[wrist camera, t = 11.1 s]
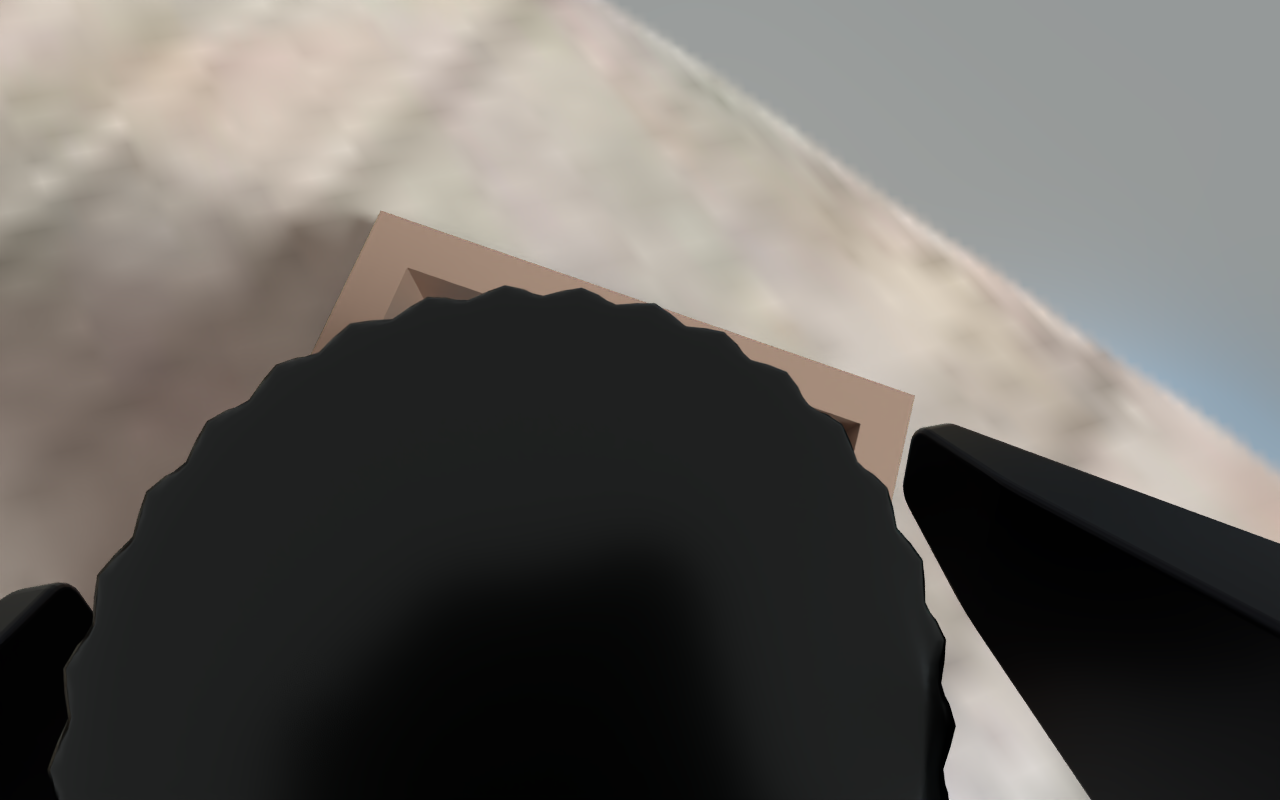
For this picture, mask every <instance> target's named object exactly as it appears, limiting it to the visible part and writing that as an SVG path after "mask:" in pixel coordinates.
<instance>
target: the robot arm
mask: <svg viewBox="0 0 1280 800" xmlns="http://www.w3.org/2000/svg"><path fill="white" fill-rule="evenodd" d="M903 492H904V497H905V500H906V502H907V505H908V507H909V509H910V511H911V512H912V514H913V516H914V518H915V520H916V522H917V524H918V526H919V527H920V529H921V531H922V533H923V535H924V537H925V539H926V541H927V542H928V544H929V546H930V548H931V550H932V552H933V554H934V556H935V557H936V559H937V561H938V563H939V565H940V567H941V569H942V571H943V572H944V574H945V576H946V578H947V580H948V582H949V584H950V586H951V587H952V589H953V591H954V593H955V595H956V597H957V598H958V600H959V602H960V604H961V605H962V607H963V609H964V611H965V612H966V614H967V615H968V617H969V619H970V620H971V622H972V623H973V625H974V626H975V628H976V630H977V631H978V633H979V634H980V636H981V637H982V639H983V640H984V642H985V643H986V645H987V646H988V647H989V649H990V650H991V652H992V653H993V655H994V656H995V658H996V659H997V661H998V662H999V664H1000V665H1001V667H1002V668H1003V670H1004V671H1005V673H1006V674H1007V676H1008V677H1009V679H1010V680H1011V682H1012V683H1013V685H1014V686H1015V688H1016V689H1017V691H1018V692H1019V694H1020V695H1021V696H1022V698H1023V699H1024V701H1025V702H1026V704H1027V705H1028V707H1029V708H1030V710H1031V711H1032V713H1033V714H1034V716H1035V717H1036V719H1037V720H1038V722H1039V723H1040V725H1041V726H1042V728H1043V729H1044V731H1045V732H1046V734H1047V735H1048V737H1049V738H1050V740H1051V741H1052V743H1053V744H1054V746H1055V747H1056V748H1057V750H1058V751H1059V753H1060V754H1061V756H1062V757H1063V759H1064V760H1065V762H1066V763H1067V765H1068V766H1069V768H1070V769H1071V771H1072V772H1073V774H1074V775H1075V777H1076V778H1077V780H1078V781H1079V783H1080V784H1081V786H1082V787H1083V789H1084V790H1085V792H1086V793H1087V795H1088V796H1089V797H1090V799H1091V800H1280V544H1279V543H1277V542H1274V541H1271V540H1268V539H1266V538H1263V537H1260V536H1257V535H1255V534H1252V533H1249V532H1247V531H1244V530H1241V529H1238V528H1236V527H1233V526H1230V525H1227V524H1225V523H1222V522H1219V521H1217V520H1214V519H1211V518H1208V517H1206V516H1203V515H1200V514H1197V513H1195V512H1192V511H1189V510H1187V509H1184V508H1181V507H1178V506H1176V505H1173V504H1170V503H1167V502H1165V501H1162V500H1159V499H1157V498H1154V497H1151V496H1148V495H1146V494H1143V493H1140V492H1138V491H1135V490H1132V489H1129V488H1127V487H1124V486H1121V485H1118V484H1116V483H1113V482H1110V481H1108V480H1105V479H1102V478H1099V477H1097V476H1094V475H1091V474H1088V473H1086V472H1083V471H1080V470H1078V469H1075V468H1072V467H1069V466H1067V465H1064V464H1061V463H1059V462H1056V461H1053V460H1050V459H1048V458H1045V457H1042V456H1039V455H1037V454H1034V453H1031V452H1029V451H1026V450H1023V449H1020V448H1018V447H1015V446H1012V445H1009V444H1007V443H1004V442H1001V441H999V440H996V439H993V438H990V437H988V436H985V435H982V434H980V433H977V432H974V431H971V430H969V429H966V428H963V427H960V426H958V425H955V424H940V425H935V426H929V427H923V428H920V429H919V430H917V431H916V432H915V433H914V435H913V436H912V439H911V444H910V449H909V454H908V460H907V465H906V470H905V476H904V481H903ZM92 623H93V611H92V610H91V608H90V607H89V605H88V604H87V603H86V601H85V600H84V598H83V597H82V595H81V594H80V593H79V591H78V590H77V589H76V588H75V587H73V586H71V585H70V584H67V583H52V584H47V585H41V586H35V587H30V588H24V589H20V590H17V591H15V592H12V593H10V594H9V595H7V596H6V597H4V598H3V599H1V600H0V800H56V799H55V797H54V794H53V790H52V786H51V783H50V779H49V775H48V771H47V770H48V767H49V764H50V761H51V758H52V756H53V753H54V750H55V747H56V745H57V742H58V740H59V738H60V736H61V733H62V731H63V729H64V727H65V725H66V722H67V720H68V712H67V706H66V699H65V691H64V670H63V669H64V667H65V665H66V664H67V662H68V660H69V659H70V657H71V655H72V653H73V652H74V650H75V648H76V647H77V645H78V644H79V643H80V642H81V641H82V640H83V639H84V637H85V635H86V633H87V632H88V630H89V628H90V627H91V625H92Z"/></svg>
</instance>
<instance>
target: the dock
mask: <svg viewBox="0 0 1280 800" xmlns="http://www.w3.org/2000/svg"><path fill="white" fill-rule="evenodd" d="M504 285H507V286H512V287H516V288H521V289H525V290H527V291H529V292H531V293H534V294H538V295H543V296H544V295H548V294H551V293H555V292H559V291H563V290H570V289H576V288H584V289H586V290H589V291H591V292H594V293H596V294H598V295H600V296H601V297H603V298H604V299H606V300H607V301H609V302H612V303H614V304H616V305H617V304H630V303H646V302H643V301H640V300H637V299H634V298H631V297H628V296H626V295H623V294H620V293H617V292H614V291H611V290H608V289H605V288H602V287H600V286H597V285H594V284H591V283H588V282H585V281H582V280H579V279H577V278H574V277H571V276H568V275H565V274H562V273H559V272H556V271H553V270H551V269H548V268H545V267H542V266H539V265H536V264H533V263H530V262H527V261H525V260H522V259H519V258H516V257H513V256H510V255H507V254H504V253H502V252H499V251H496V250H493V249H490V248H487V247H484V246H481V245H478V244H476V243H473V242H470V241H467V240H464V239H461V238H458V237H455V236H453V235H450V234H447V233H444V232H441V231H438V230H435V229H432V228H429V227H427V226H424V225H421V224H418V223H415V222H412V221H409V220H406V219H403V218H401V217H398V216H395V215H392V214H389V213H386V212H383V211H380V213H379V215H378V217H377V219H376V221H375V223H374V225H373V228H372V230H371V232H370V234H369V236H368V238H367V240H366V242H365V244H364V246H363V248H362V250H361V252H360V254H359V256H358V258H357V261H356V263H355V265H354V267H353V269H352V271H351V273H350V275H349V277H348V279H347V281H346V283H345V285H344V287H343V289H342V291H341V294H340V296H339V298H338V300H337V302H336V304H335V306H334V308H333V310H332V312H331V314H330V316H329V318H328V320H327V322H326V324H325V327H324V329H323V331H322V333H321V335H320V337H319V339H318V341H317V343H316V345H315V347H314V349H313V351H312V353H311V355H312V354H315V353H318V352H319V351H320V350H321V349H322V348H323V347H324V346H325V345H326V344H327V343H328V342H329V341H330V340H331V339H332V338H333V337H334V336H336V335H337V334H338V333H339V332H340V331H342V330H343V329H344V328H345V327H346V326H348V325H349V324H350V323H355V322H362V321H369V320H383V319H393V318H394V317H396V316H397V315H399V314H400V313H402V312H403V311H405V310H406V309H407V308H409V307H410V306H412V305H414V304H416V303H417V302H419V301H421V300H423V299H424V298H426V297H447V298H451V299H455V300H469V299H472V298H474V297H476V296H478V295H480V294H483V293H485V292H487V291H490V290H493V289H496V288H498V287H501V286H504ZM664 310H666V309H664ZM666 311H667V312H669V313H670V314H672V315H673V316H674V317H675V318H677V319H678V320H679V321H680V322H681V323H683V324H684V325H685V326H689V327H699V328H708V329H712V330H717V331H723V332H725V333H726V334H727V335H728V336H729V337H730V338H731V339H732V340H733V341H734V342H735V343H737V344H738V346H739V347H740V349H741V350H742V352H743V353H744V354H745V355H746V356H747V357H748V358H749V359H751V360H754V361H757V362H761V363H764V364H768V365H771V366H773V367H776V368H778V369H781V370H783V371H786V372H787V373H788V374H789V375H790V377H791V378H792V379H793V381H794V382H795V383H796V385H797V386H798V387H799V390H800V392H801V394H802V396H803V398H804V399H805V400H806V402H807V403H808V404H809V405H810V406H811V407H813V408H814V409H816V410H818V411H820V412H823V413H826V414H828V415H829V416H831V417H832V418H834V419H835V420H837V421H838V422H840V423H841V424H842V425H843V427H844V429H845V431H846V433H847V435H848V437H849V439H850V442H851V444H852V447H853V450H854V453H855V456H856V458H857V461H858V462H859V463H860V464H861V465H862V466H863V467H864V468H865V469H866V470H868V471H870V472H871V473H873V474H874V475H875V476H876V477H877V478H878V479H879V480H880V481H881V482H882V483H883V484H884V485H885V486H886V487H887V488H888V491H889V495H890V498H891V502H892V497H893V493H894V488H895V484H896V479H897V475H898V470H899V465H900V461H901V456H902V452H903V447H904V443H905V438H906V434H907V429H908V424H909V420H910V415H911V411H912V406H913V402H914V397H915V396H914V395H911V394H908V393H905V392H902V391H900V390H897V389H894V388H891V387H888V386H885V385H882V384H879V383H876V382H874V381H871V380H868V379H865V378H862V377H859V376H856V375H853V374H851V373H848V372H845V371H842V370H839V369H836V368H833V367H830V366H827V365H825V364H822V363H819V362H816V361H813V360H810V359H807V358H804V357H801V356H799V355H796V354H793V353H790V352H787V351H784V350H781V349H778V348H776V347H773V346H770V345H767V344H764V343H761V342H758V341H755V340H752V339H750V338H747V337H744V336H741V335H738V334H735V333H732V332H729V331H726V330H724V329H721V328H718V327H715V326H712V325H709V324H706V323H703V322H701V321H698V320H695V319H692V318H689V317H686V316H683V315H680V314H677V313H675V312H672V311H669V310H666Z"/></svg>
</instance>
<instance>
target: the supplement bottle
mask: <svg viewBox="0 0 1280 800" xmlns="http://www.w3.org/2000/svg"><path fill="white" fill-rule="evenodd" d="M945 646H946V639H945V637H944V635H943V633H942V631H941V629H940V627H939V625H938V622H937V621H936V619H935V618H934V617H933V615H932V614H931V613H930V611H929V609H928V607H927V605H926V603H925V578H924V569H923V560H922V558H921V557H920V556H919V554H918V553H917V551H916V550H915V549H914V547H913V546H912V545H911V543H910V542H909V541H908V540H907V539H906V538H905V537H904V535H903V534H902V533H901V532H900V531H899V530H898V529H897V527H896V521H895V516H894V510H893V505H892V502H891V498H890V495H889V491H888V488H887V487H886V486H885V485H884V484H883V483H882V482H881V481H880V480H879V479H878V478H877V477H876V476H875V475H874V474H873V473H871V472H870V471H868V470H866V469H865V468H864V467H863V466H862V465H861V464H860V463H859V462H858V461H857V458H856V456H855V453H854V450H853V447H852V444H851V442H850V439H849V437H848V435H847V433H846V431H845V429H844V427H843V425H842V424H841V423H840V422H838V421H837V420H835V419H834V418H832V417H831V416H829V415H828V414H826V413H823V412H820V411H818V410H816V409H814V408H813V407H811V406H810V405H809V404H808V403H807V402H806V400H805V399H804V398H803V396H802V394H801V392H800V390H799V387H798V386H797V385H796V383H795V382H794V381H793V379H792V378H791V377H790V375H789V374H788V373H787V372H786V371H783V370H781V369H778V368H776V367H773V366H771V365H768V364H764V363H761V362H757V361H754V360H751V359H749V358H748V357H747V356H746V355H745V354H744V353H743V352H742V350H741V349H740V347H739V346H738V344H737V343H735V342H734V341H733V340H732V339H731V338H730V337H729V336H728V335H727V334H726V333H725V332H723V331H717V330H712V329H708V328H699V327H689V326H685V325H684V324H683V323H681V322H680V321H679V320H678V319H677V318H675V317H674V316H673V315H672V314H670V313H669V312H667V311H666V310H664V309H663V308H661V307H660V306H658V305H657V304H655V303H630V304H617V305H616V304H614V303H612V302H609V301H607V300H606V299H604V298H603V297H601V296H600V295H598V294H596V293H594V292H591V291H589V290H586V289H584V288H576V289H570V290H563V291H559V292H555V293H551V294H548V295H544V296H543V295H538V294H534V293H531V292H529V291H527V290H525V289H521V288H516V287H512V286H507V285H504V286H501V287H498V288H496V289H493V290H490V291H487V292H485V293H483V294H480V295H478V296H476V297H474V298H472V299H469V300H455V299H451V298H447V297H426V298H424V299H423V300H421V301H419V302H417V303H416V304H414V305H412V306H410V307H409V308H407V309H406V310H405V311H403V312H402V313H400V314H399V315H397V316H396V317H394V318H393V319H383V320H369V321H362V322H355V323H350V324H349V325H348V326H346V327H345V328H344V329H343V330H342V331H340V332H339V333H338V334H337V335H336V336H334V337H333V338H332V339H331V340H330V341H329V342H328V343H327V344H326V345H325V346H324V347H323V348H322V349H321V350H320V351H319V352H318V353H315V354H312V355H309V356H306V357H299V358H295V359H292V360H289V361H286V362H283V363H280V364H277V365H275V367H274V368H273V369H272V370H271V371H270V372H269V374H268V375H267V376H266V377H265V378H264V380H263V381H262V382H261V384H260V385H259V386H258V388H257V389H256V391H255V392H254V394H253V395H252V396H251V398H250V399H249V400H248V401H247V402H245V403H243V404H241V405H239V406H237V407H235V408H232V409H229V410H226V411H224V412H223V413H221V414H219V415H217V416H215V417H214V418H212V419H210V420H208V421H207V422H206V424H205V426H204V427H203V429H202V431H201V433H200V434H199V436H198V438H197V440H196V442H195V444H194V446H193V448H192V450H191V452H190V454H189V456H188V459H187V461H186V462H185V463H184V464H183V465H182V466H180V467H179V468H178V469H177V470H175V471H174V472H172V473H171V474H169V475H167V476H165V477H164V478H162V479H161V480H160V481H159V482H157V483H156V484H155V485H154V486H153V487H151V488H150V489H149V490H148V491H146V494H145V497H144V500H143V503H142V506H141V508H140V511H139V515H138V518H137V522H136V526H135V530H134V534H133V537H132V538H131V539H130V540H129V541H128V542H127V543H126V544H125V545H124V546H123V547H122V548H121V549H120V550H119V551H118V552H117V553H116V554H115V555H114V556H113V557H112V558H111V560H110V561H109V562H108V563H107V564H106V565H105V567H104V568H103V569H102V570H101V571H100V572H99V574H98V575H97V581H96V588H95V595H94V607H93V623H92V625H91V627H90V628H89V630H88V632H87V633H86V635H85V637H84V639H83V640H82V641H81V642H80V643H79V644H78V645H77V647H76V648H75V650H74V652H73V653H72V655H71V657H70V659H69V660H68V662H67V664H66V665H65V667H64V669H63V670H64V691H65V699H66V706H67V712H68V720H67V722H66V725H65V727H64V729H63V731H62V733H61V736H60V738H59V740H58V742H57V745H56V747H55V750H54V753H53V756H52V758H51V761H50V764H49V767H48V770H47V771H48V775H49V779H50V783H51V786H52V790H53V794H54V797H55V799H56V800H949V798H948V791H947V788H946V785H945V779H944V771H943V768H944V765H945V762H946V759H947V756H948V753H949V750H950V747H951V743H952V739H953V735H954V731H955V727H956V725H955V721H954V718H953V715H952V711H951V708H950V704H949V702H948V701H947V699H946V697H945V694H944V691H943V688H942V684H941V681H942V674H943V668H944V661H945Z"/></svg>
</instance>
